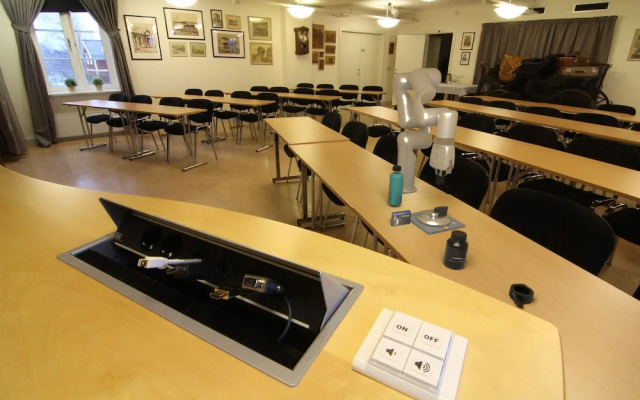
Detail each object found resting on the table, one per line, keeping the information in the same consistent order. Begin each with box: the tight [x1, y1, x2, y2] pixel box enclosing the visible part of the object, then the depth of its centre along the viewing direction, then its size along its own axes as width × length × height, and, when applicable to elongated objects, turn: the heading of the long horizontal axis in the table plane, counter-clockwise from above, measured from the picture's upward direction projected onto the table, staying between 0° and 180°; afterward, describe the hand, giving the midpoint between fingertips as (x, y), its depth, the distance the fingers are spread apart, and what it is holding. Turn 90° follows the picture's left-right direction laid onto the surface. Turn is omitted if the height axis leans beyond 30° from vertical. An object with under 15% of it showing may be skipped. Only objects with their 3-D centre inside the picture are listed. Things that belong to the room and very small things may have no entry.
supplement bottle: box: [442, 229, 470, 270], centre depth 106 cm, size 7×7×12 cm
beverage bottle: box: [387, 164, 403, 206], centre depth 150 cm, size 6×7×20 cm
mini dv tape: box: [390, 209, 412, 227], centre depth 135 cm, size 8×2×6 cm, turn 105°
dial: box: [416, 204, 452, 227], centre depth 136 cm, size 14×14×5 cm
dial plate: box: [410, 208, 466, 236], centre depth 138 cm, size 18×18×1 cm
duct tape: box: [508, 283, 535, 308], centre depth 92 cm, size 8×10×3 cm
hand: (439, 183), depth 137 cm, fingers closed
